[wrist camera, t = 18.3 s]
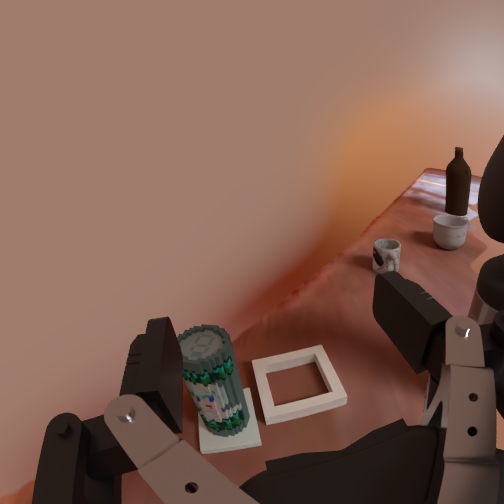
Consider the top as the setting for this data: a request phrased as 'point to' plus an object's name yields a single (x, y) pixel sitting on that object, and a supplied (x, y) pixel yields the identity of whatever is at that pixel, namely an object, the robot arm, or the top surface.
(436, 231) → the teacup
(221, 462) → the top surface
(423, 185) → the top surface
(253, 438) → the white rectangular plate
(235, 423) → the can
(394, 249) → the mug
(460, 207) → the olive oil
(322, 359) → the well rim
